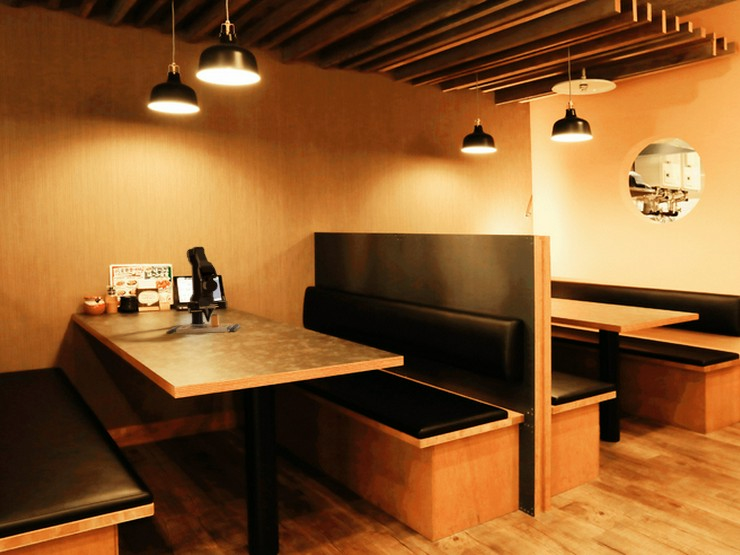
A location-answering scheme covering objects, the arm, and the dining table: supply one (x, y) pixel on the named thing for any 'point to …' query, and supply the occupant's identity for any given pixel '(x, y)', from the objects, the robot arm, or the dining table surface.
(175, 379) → the dining table surface
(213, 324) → the block
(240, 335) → the dining table surface
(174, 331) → the cord
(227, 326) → the faceplate
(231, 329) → the cord
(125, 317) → the dining table surface
